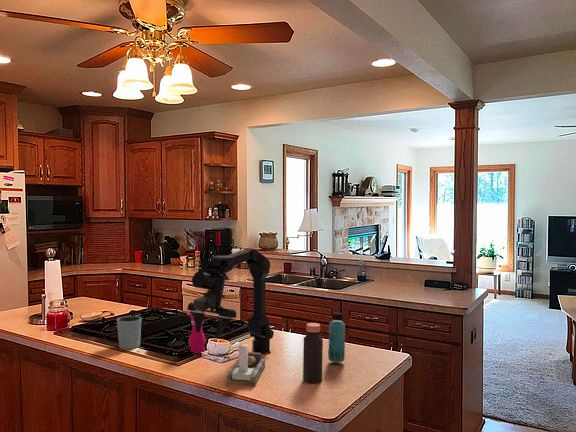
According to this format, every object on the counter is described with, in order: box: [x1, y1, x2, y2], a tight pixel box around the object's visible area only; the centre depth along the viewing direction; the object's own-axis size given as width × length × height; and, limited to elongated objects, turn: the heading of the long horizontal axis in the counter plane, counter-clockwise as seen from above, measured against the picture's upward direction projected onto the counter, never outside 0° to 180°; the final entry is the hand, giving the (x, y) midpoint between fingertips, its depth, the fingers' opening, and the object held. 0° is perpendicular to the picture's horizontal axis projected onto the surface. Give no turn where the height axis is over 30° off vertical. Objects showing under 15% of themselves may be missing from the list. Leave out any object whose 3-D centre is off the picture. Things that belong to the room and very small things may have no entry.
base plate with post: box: [226, 351, 266, 387], centre depth 175 cm, size 18×10×6 cm, turn 172°
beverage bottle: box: [327, 311, 346, 363], centre depth 189 cm, size 6×7×20 cm
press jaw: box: [232, 343, 254, 380], centre depth 169 cm, size 6×6×11 cm
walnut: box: [248, 356, 255, 366], centre depth 181 cm, size 4×4×4 cm
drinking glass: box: [116, 315, 143, 350], centre depth 206 cm, size 10×10×12 cm
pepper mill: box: [187, 311, 207, 353], centre depth 200 cm, size 7×7×20 cm
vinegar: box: [302, 322, 324, 385], centre depth 171 cm, size 7×7×20 cm
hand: (207, 334), depth 172 cm, fingers open, 9 cm apart
